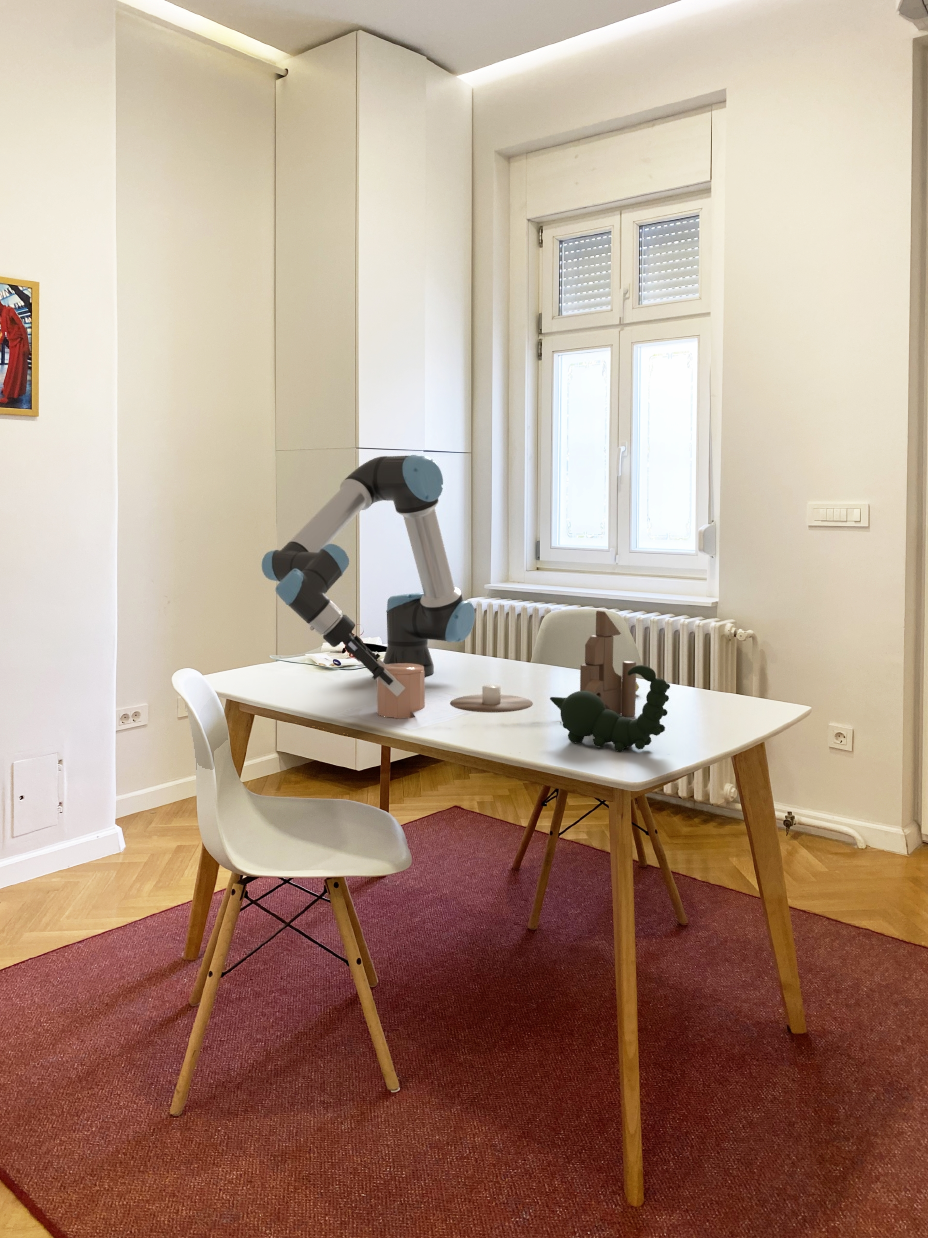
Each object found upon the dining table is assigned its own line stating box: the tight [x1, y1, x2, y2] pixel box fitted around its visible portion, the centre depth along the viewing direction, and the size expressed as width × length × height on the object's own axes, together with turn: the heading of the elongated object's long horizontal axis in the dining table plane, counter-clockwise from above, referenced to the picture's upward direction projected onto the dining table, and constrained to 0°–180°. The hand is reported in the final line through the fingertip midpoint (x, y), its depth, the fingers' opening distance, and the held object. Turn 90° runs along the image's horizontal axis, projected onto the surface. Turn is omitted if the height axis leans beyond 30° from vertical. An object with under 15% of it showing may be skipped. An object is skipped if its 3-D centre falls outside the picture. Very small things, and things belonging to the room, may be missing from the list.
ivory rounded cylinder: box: [481, 684, 502, 705], centre depth 232 cm, size 4×4×4 cm
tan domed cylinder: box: [376, 663, 426, 719], centre depth 228 cm, size 11×11×11 cm
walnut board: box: [449, 693, 534, 713], centre depth 232 cm, size 20×20×2 cm
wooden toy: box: [579, 610, 637, 718], centre depth 221 cm, size 15×7×25 cm, turn 130°
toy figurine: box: [549, 664, 671, 753], centre depth 197 cm, size 9×19×25 cm
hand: (397, 686), depth 227 cm, fingers open, 13 cm apart
